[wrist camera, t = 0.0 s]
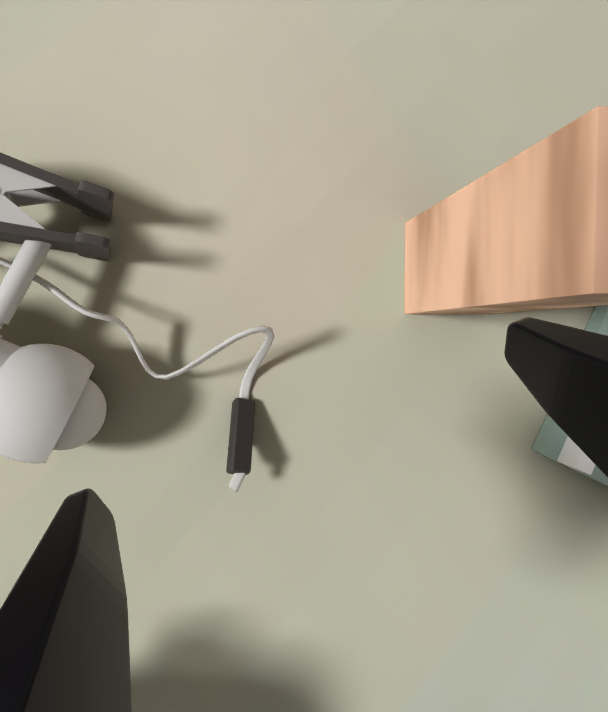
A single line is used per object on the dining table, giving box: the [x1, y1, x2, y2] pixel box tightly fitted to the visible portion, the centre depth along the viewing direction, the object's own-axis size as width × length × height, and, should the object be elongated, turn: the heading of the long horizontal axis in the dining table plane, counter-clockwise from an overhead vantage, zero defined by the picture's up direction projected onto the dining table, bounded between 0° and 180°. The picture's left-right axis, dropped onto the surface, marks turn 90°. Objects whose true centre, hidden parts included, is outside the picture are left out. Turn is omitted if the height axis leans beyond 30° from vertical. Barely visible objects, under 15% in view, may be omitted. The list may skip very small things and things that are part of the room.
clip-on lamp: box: [0, 153, 274, 492], centre depth 20 cm, size 12×6×18 cm
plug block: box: [405, 106, 608, 314], centre depth 19 cm, size 5×5×13 cm
